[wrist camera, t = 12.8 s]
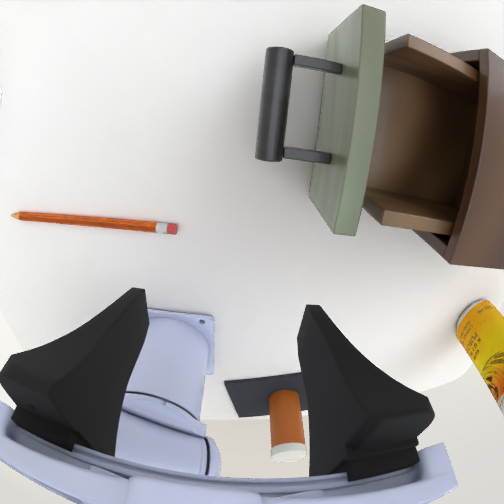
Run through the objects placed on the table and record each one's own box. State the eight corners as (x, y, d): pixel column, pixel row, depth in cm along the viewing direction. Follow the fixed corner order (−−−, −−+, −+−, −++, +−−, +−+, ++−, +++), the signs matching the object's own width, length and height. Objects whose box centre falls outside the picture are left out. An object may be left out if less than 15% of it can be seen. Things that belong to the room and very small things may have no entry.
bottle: (266, 405, 30) (268, 462, 23) (270, 388, 29) (273, 451, 22) (296, 405, 31) (302, 461, 23) (302, 388, 29) (311, 449, 22)
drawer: (250, 190, 18) (249, 226, 13) (267, 24, 13) (274, -16, 8) (447, 219, 19) (494, 254, 14) (470, 89, 14) (526, 94, 8)
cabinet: (392, 213, 20) (449, 264, 13) (415, 59, 14) (487, 47, 7) (492, 233, 21) (542, 273, 13) (516, 117, 15) (575, 133, 8)
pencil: (177, 232, 21) (175, 236, 20) (13, 218, 20) (8, 220, 19) (177, 222, 20) (175, 226, 20) (12, 210, 19) (7, 212, 19)
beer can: (450, 316, 25) (514, 417, 12) (488, 287, 24) (558, 374, 10) (455, 343, 27) (505, 432, 14) (489, 317, 26) (545, 397, 13)
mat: (239, 415, 32) (239, 417, 32) (224, 381, 29) (224, 383, 28) (331, 403, 31) (332, 405, 31) (334, 366, 28) (334, 369, 27)
